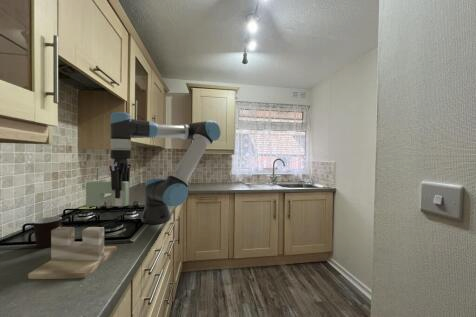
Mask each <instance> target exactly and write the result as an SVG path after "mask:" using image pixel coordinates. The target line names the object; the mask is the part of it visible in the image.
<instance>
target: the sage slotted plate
mask: <svg viewBox="0 0 476 317" xmlns="http://www.w3.org/2000/svg"><path fill="white" fill-rule="evenodd" d="M121 190H123V206H122V207H127V206H128V205H129V204H130V181H122V187H121ZM106 194H107V195H108V194H109V195H110V194H111V207H116V206H115V190H112V188H111V180H109V181H105V180H104V181H101V180H99V181H93V180H91V181H86V182H85V207H102V206H104V205H105V195H106ZM129 206H130V205H129Z"/></svg>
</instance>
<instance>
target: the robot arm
mask: <svg viewBox="0 0 476 317" xmlns="http://www.w3.org/2000/svg"><path fill="white" fill-rule="evenodd" d="M109 122H110V123H109V124H110V125H109V126H110V142H109V144H110V149H112V150H110V159H112V160H113V165H109V171H110V181H111V188H112V190H115V206H114V207H124V206H123V190H121V187H122V181H129V182H130V181H131V180H130V178H131V176H130V175H131V167H132V166H131V165H132V164H131V163H129V162H128V160H130V159H131V158H132V151H131V149H132V139H181V140H187V141H192V142H191V144H190V146H189V147H188V148H187V151H186V152H185V153H184V155H183V156H182V158H181V160H180V162H179V163H178V165H177V167H176V168H175V171H174V172H173V173H172V174H169V175H168V176H167V177H162V178H161V177H160V178H152V179H151V178H150V179H147V180H146V181H145V186H144V190H145V191H144V192H145V193H144V196H145V198H144V202H145V204H144V208H143V212H142V215H141V223H143V224H146V223H149V224H148V225H158V224H163V223H167V222H169V221H171V219H172V216H171V211H170V209H169V207H179V206H181V205H182V204H184V203H185V201H186V200H187V199H188V195H189V193H188V192H189V190H188V188H189V183H188V182H189V179H190V178H191V176H192V174H193V173H194V171H195V169H196V168H197V165H198V164H199V162H200V160H201V159H202V156H203V155H204V153H205V152H206V150H207V148H209V147H211V145H212V144H213V142H214V141H215V142H216V141H218V140H219V139H220V137H221V135H222V134H221V132H222V131H221V128H220V125H219V123H217V122H216V121H215V120H207V121H197V122H192V123H182V124H161V123H160V124H159V123H157V122H155V121H150V120H149V121H148V120H142V119H141V120H140V119H134V118H132V114H130V113H127V112H123V111H116V112H115V111H114V112H112V113H111V114H110V121H109Z"/></svg>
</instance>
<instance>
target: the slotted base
mask: <svg viewBox="0 0 476 317" xmlns="http://www.w3.org/2000/svg"><path fill="white" fill-rule="evenodd" d="M75 229H76V228H75V227H73V226H70V227H69V226H68V227H67V226H65V227H64V226H63V227H62V226H61V227H58V228H56V229H53V230H51V247H50V248H51V250H50V256H51V257H50V260H49V261H47V262H45V263H44V264H42V265H40V266H39V267H37V268H35V269H34V270H32V271H30V272H29V273H27V279H28V280H40V279H41V280H47V279H49V280H51V279H54V280H55V279H59V280H61V279H87V277H88V276H90V275H91V274H92V273H93V272H94V271H95V270H96V269H98V268H99V267H100V266H101V265H102V264H103V263H104V262H106V261H107V260H108V258H110V257H111V256H113V255H114V254H115V253H116V252H117V251H118V250H117V248H118V247H117V246H114V245H113V246H106V245H105V227H104V226H100V227H99V226H91V227H90V226H89V227H86V228H84V229H83V230H82V233H81V234H82V237H81V238H82V241H75V237H76V236H75V234H76V230H75Z"/></svg>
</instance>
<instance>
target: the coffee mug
mask: <svg viewBox="0 0 476 317" xmlns="http://www.w3.org/2000/svg"><path fill="white" fill-rule="evenodd" d="M62 220H63V217H62V216H47V217H42V218H37V219H35V220H33V221H32V227H33V233H34V238H35V244H36V248H37V249H46V248H51V230H53V229H56V228H58V227H62Z"/></svg>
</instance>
